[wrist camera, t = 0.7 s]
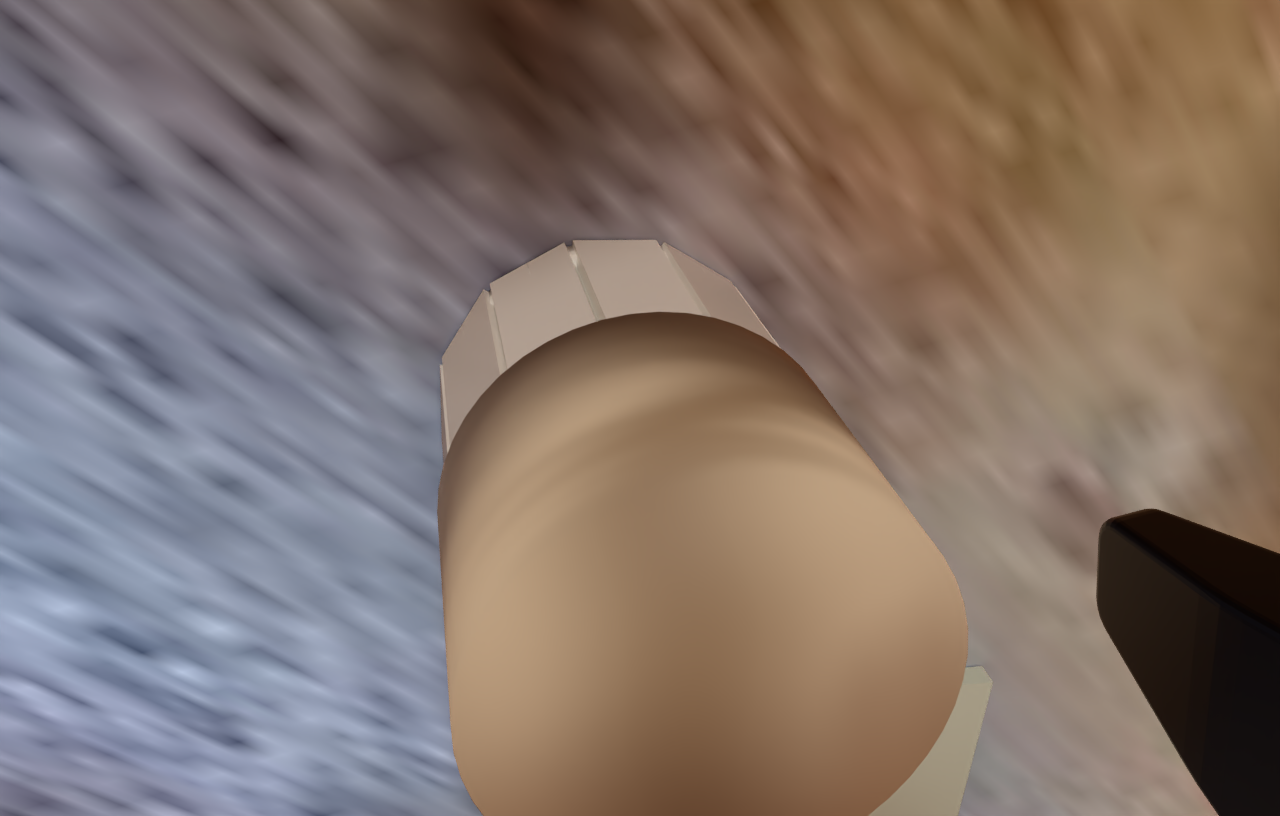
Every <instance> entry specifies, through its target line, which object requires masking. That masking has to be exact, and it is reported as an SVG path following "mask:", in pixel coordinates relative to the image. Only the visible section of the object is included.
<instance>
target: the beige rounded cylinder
mask: <svg viewBox="0 0 1280 816" xmlns="http://www.w3.org/2000/svg"><path fill="white" fill-rule="evenodd" d="M437 515H438V531H439V547H440V562H441V578H442V594H443V610H444V626H445V642H446V658H447V674H448V690H449V706H450V721H451V733H452V742H453V751H454V756H455V759H456V762H457V766H458V769H459V772H460V776H461V779H462V781H463V783H464V785H465V787H466V789H467V791H468V793H469V795H470V797H471V799H472V801H473V802H474V804H475V805H476V806H477V808H478V809H479V810H480V812H481V813H482V814H483V816H868V815H869V814H871V813H872V812H873V811H874V810H875V809H877V808H878V807H879V806H880V805H881V804H883V803H884V802H885V801H886V800H887V799H889V798H890V797H891V796H892V795H893V794H894V793H895V792H896V791H897V790H898V789H899V788H900V787H901V786H902V785H903V784H904V783H905V782H906V781H907V779H908V778H909V777H910V776H911V775H912V774H913V773H914V771H915V770H916V769H917V768H918V766H919V765H920V764H921V763H922V761H923V760H924V759H925V758H926V756H927V755H928V754H929V752H930V751H931V749H932V747H933V746H934V744H935V743H936V741H937V740H938V738H939V736H940V735H941V733H942V732H943V730H944V728H945V726H946V724H947V721H948V719H949V717H950V715H951V713H952V711H953V709H954V707H955V704H956V701H957V698H958V695H959V692H960V689H961V686H962V682H963V679H964V673H965V667H966V661H967V655H968V626H967V619H966V612H965V606H964V602H963V599H962V596H961V593H960V590H959V587H958V584H957V581H956V578H955V577H954V575H953V573H952V571H951V569H950V568H949V566H948V564H947V562H946V560H945V558H944V557H943V555H942V554H941V553H940V551H939V550H938V548H937V547H936V546H935V544H934V543H933V542H932V540H931V539H930V538H929V536H928V535H927V534H926V532H925V531H924V530H923V528H922V527H921V526H920V524H919V523H918V522H917V520H916V519H915V518H914V516H913V515H912V514H911V512H910V511H909V510H908V508H907V507H906V505H905V504H904V503H903V501H902V500H901V499H900V497H899V496H898V495H897V493H896V492H895V491H894V489H893V488H892V487H891V485H890V484H889V483H888V481H887V480H886V479H885V477H884V476H883V475H882V473H881V472H880V471H879V469H878V468H877V466H876V465H875V464H874V462H873V461H872V460H871V458H870V457H869V456H868V454H867V453H866V452H865V450H864V449H863V448H862V446H861V445H860V444H859V442H858V441H857V440H856V438H855V437H854V436H853V434H852V433H851V432H850V430H849V429H848V428H847V426H846V425H845V423H844V422H843V421H842V419H841V418H840V417H839V415H838V414H837V413H836V411H835V410H834V409H833V407H832V406H831V405H830V403H829V402H828V401H827V399H826V398H825V397H824V395H823V394H822V393H821V391H820V390H819V389H818V387H817V386H816V385H815V383H814V382H813V381H812V380H811V378H810V377H809V376H808V375H807V373H806V372H805V371H804V370H803V368H802V367H801V366H800V365H799V364H798V363H797V362H796V361H794V360H793V359H792V358H791V357H790V356H789V355H788V354H787V353H786V352H785V351H783V350H782V349H781V348H779V347H778V346H776V345H775V344H773V343H772V342H770V341H769V340H767V339H766V338H764V337H763V336H760V335H758V334H756V333H754V332H752V331H750V330H748V329H746V328H744V327H742V326H739V325H736V324H733V323H730V322H727V321H723V320H720V319H717V318H714V317H708V316H702V315H697V314H691V313H679V312H648V313H636V314H628V315H623V316H618V317H613V318H608V319H603V320H600V321H597V322H594V323H591V324H588V325H585V326H582V327H579V328H575V329H573V330H571V331H569V332H567V333H564V334H562V335H560V336H558V337H556V338H554V339H552V340H550V341H547V342H546V343H544V344H543V345H541V346H539V347H538V348H536V349H535V350H533V351H531V352H530V353H528V354H527V355H525V356H523V357H522V358H521V359H520V360H518V361H517V362H516V363H515V364H513V365H512V366H511V367H510V368H508V369H507V370H506V371H505V372H504V373H502V374H501V375H500V376H499V377H498V378H497V379H496V380H495V381H494V382H493V383H492V384H491V385H490V386H489V388H488V389H487V390H486V391H485V392H484V393H483V394H482V395H481V396H480V397H479V399H478V400H477V402H476V403H475V404H474V406H473V407H472V408H471V410H470V411H469V412H468V414H467V415H466V417H465V418H464V420H463V422H462V424H461V426H460V427H459V429H458V431H457V433H456V435H455V437H454V439H453V440H452V443H451V446H450V448H449V451H448V454H447V457H446V459H445V462H444V465H443V470H442V474H441V479H440V484H439V490H438V509H437Z"/></svg>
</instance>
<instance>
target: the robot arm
mask: <svg viewBox="0 0 1280 816" xmlns="http://www.w3.org/2000/svg"><path fill="white" fill-rule="evenodd" d="M1096 598H1097V607H1098V611H1099V615H1100V618H1101V620H1102V623H1103V625H1104V627H1105V629H1106V631H1107V633H1108V634H1109V636H1110V638H1111V639H1112V641H1113V643H1114V645H1115V646H1116V648H1117V650H1118V651H1119V653H1120V655H1121V657H1122V658H1123V660H1124V662H1125V663H1126V665H1127V667H1128V668H1129V670H1130V672H1131V674H1132V675H1133V677H1134V679H1135V680H1136V682H1137V684H1138V686H1139V687H1140V689H1141V691H1142V692H1143V694H1144V696H1145V698H1146V699H1147V701H1148V703H1149V704H1150V706H1151V708H1152V709H1153V711H1154V713H1155V715H1156V716H1157V718H1158V720H1159V721H1160V723H1161V725H1162V727H1163V728H1164V730H1165V732H1166V733H1167V735H1168V737H1169V738H1170V740H1171V742H1172V744H1173V745H1174V747H1175V749H1176V750H1177V752H1178V754H1179V756H1180V757H1181V759H1182V761H1183V762H1184V764H1185V765H1186V767H1187V769H1188V770H1189V772H1190V773H1191V775H1192V777H1193V778H1194V780H1195V782H1196V783H1197V785H1198V786H1199V788H1200V789H1201V791H1202V792H1203V794H1204V795H1205V796H1206V798H1207V799H1208V801H1209V802H1210V804H1211V805H1212V806H1213V808H1214V809H1215V811H1216V812H1217V814H1218V815H1219V816H1280V554H1279V553H1276V552H1274V551H1271V550H1268V549H1265V548H1263V547H1260V546H1257V545H1254V544H1252V543H1249V542H1246V541H1244V540H1241V539H1238V538H1235V537H1233V536H1230V535H1227V534H1224V533H1222V532H1219V531H1216V530H1213V529H1211V528H1208V527H1205V526H1202V525H1200V524H1197V523H1194V522H1191V521H1189V520H1186V519H1183V518H1181V517H1178V516H1175V515H1172V514H1170V513H1167V512H1164V511H1161V510H1157V509H1144V510H1140V511H1136V512H1132V513H1128V514H1125V515H1121V516H1117V517H1113V518H1110V519H1108V520H1107V521H1106V522H1104V524H1103V525H1102V527H1101V529H1100V532H1099V541H1098V567H1097V593H1096Z"/></svg>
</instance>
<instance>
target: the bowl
mask: <svg viewBox="0 0 1280 816" xmlns="http://www.w3.org/2000/svg"><path fill="white" fill-rule="evenodd" d="M490 287H491V290H490V291H489V292H488V291H486V290H483V291H482V293H481V294H480V296H479V298H478V299H477V301H476V303H475V304H474V306H473V308H472V309H471V311H470V312H469V314H468V316H467V317H466V319H465V321H464V322H463V324H462V325H461V327H460V329H459V330H458V332H457V334H456V335H455V337H454V339H453V340H452V342H451V343H450V345H449V347H448V348H447V350H446V352H445V353H444V355H443V357H442V363H443V365H440V390H441V433H442V449H443V462H445V459H446V457H447V454H448V451H449V448H450V446H451V443H452V440H453V439H454V437H455V435H456V433H457V431H458V429H459V427H460V426H461V424H462V422H463V420H464V418H465V417H466V415H467V414H468V412H469V411H470V410H471V408H472V407H473V406H474V404H475V403H476V402H477V400H478V399H479V397H480V396H481V395H482V394H483V393H484V392H485V391H486V390H487V389H488V388H489V386H490V385H491V384H492V383H493V382H494V381H495V380H496V379H497V378H498V377H499V376H500V375H501V374H502V373H504V372H505V371H506V370H507V369H508V368H510V367H511V366H512V365H513V364H515V363H516V362H517V361H518V360H520V359H521V358H522V357H523V356H525V355H527V354H528V353H530V352H531V351H533V350H535V349H536V348H538V347H539V346H541V345H543V344H544V343H546V342H547V341H550V340H552V339H554V338H556V337H558V336H560V335H562V334H564V333H567V332H569V331H571V330H573V329H575V328H579V327H582V326H585V325H588V324H591V323H594V322H597V321H600V320H603V319H608V318H613V317H618V316H623V315H628V314H636V313H648V312H679V313H691V314H697V315H702V316H708V317H714V318H717V319H720V320H723V321H727V322H730V323H733V324H736V325H739V326H742V327H744V328H746V329H748V330H750V331H752V332H754V333H756V334H758V335H760V336H763V337H764V338H766V339H767V340H769V341H770V342H772V343H773V344H775V345H776V346H778V344H777V343H776V341H775V340H774V339H773V337H772V336H771V335H770V333H769V332H768V330H767V329H766V328H765V326H764V325H763V324H762V322H761V321H760V320H759V318H758V317H757V315H756V314H755V313H754V311H753V310H752V309H751V307H750V306H749V304H748V303H747V302H746V300H745V299H744V298H743V296H742V295H741V293H740V292H739V291H738V289H737V288H736V287H735V286H734V285H733V284H732V283H731V281H730V280H728V279H726V278H725V277H723V276H721V275H720V274H718V273H716V272H714V271H713V270H711V269H709V268H708V267H706V266H704V265H703V264H701V263H699V262H697V261H696V260H694V259H692V258H691V257H689V256H687V255H685V254H684V253H682V252H680V251H679V250H677V249H675V248H673V247H672V246H670V245H668V244H667V243H665V242H664V243H663V244H662V246H660V245H659V244H658V242H657V240H573V245H572V246H568V247H567V246H566V245H565V243H562V244H561V245H559V246H557V247H555V248H553V249H552V250H550V251H548V252H546V253H544V254H542V255H541V256H539V257H537V258H535V259H533V260H532V261H530V262H528V263H526V264H524V265H523V266H521V267H519V268H517V269H515V270H513V271H512V272H510V273H508V274H506V275H504V276H503V277H501V278H499V279H497V280H495V281H494V282H492V283H490ZM778 347H779V346H778ZM779 348H780V347H779Z"/></svg>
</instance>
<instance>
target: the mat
mask: <svg viewBox="0 0 1280 816" xmlns="http://www.w3.org/2000/svg"><path fill="white" fill-rule="evenodd" d="M992 684H993V682H992V680H991V679H990V677H989V676H988V674H987V673H986V671H985V670H984V669H983V667H982V666H979V667H967V668H965V673H964V679H963V682H962V686H961V689H960V692H959V695H958V698H957V701H956V704H955V707H954V709H953V711H952V713H951V715H950V717H949V719H948V721H947V724H946V726H945V728H944V730H943V732H942V733H941V735H940V736H939V738H938V740H937V741H936V743H935V744H934V746H933V747H932V749H931V751H930V752H929V754H928V755H927V756H926V758H925V759H924V760H923V761H922V763H921V764H920V765H919V766H918V768H917V769H916V770H915V771H914V773H913V774H912V775H911V776H910V777H909V778H908V779H907V781H906V782H905V783H904V784H903V785H902V786H901V787H900V788H899V789H898V790H897V791H896V792H895V793H894V794H893V795H892V796H891V797H890V798H889V799H887V800H886V801H885V802H884V803H883V804H881V805H880V806H879V807H878V808H877V809H875V810H874V811H873V812H872V813H871V814H869V815H868V816H958V813H959V809H960V805H961V801H962V798H963V794H964V790H965V786H966V782H967V779H968V775H969V771H970V767H971V764H972V760H973V756H974V752H975V748H976V745H977V741H978V737H979V733H980V729H981V726H982V722H983V718H984V714H985V710H986V707H987V703H988V699H989V695H990V692H991V688H992Z"/></svg>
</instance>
